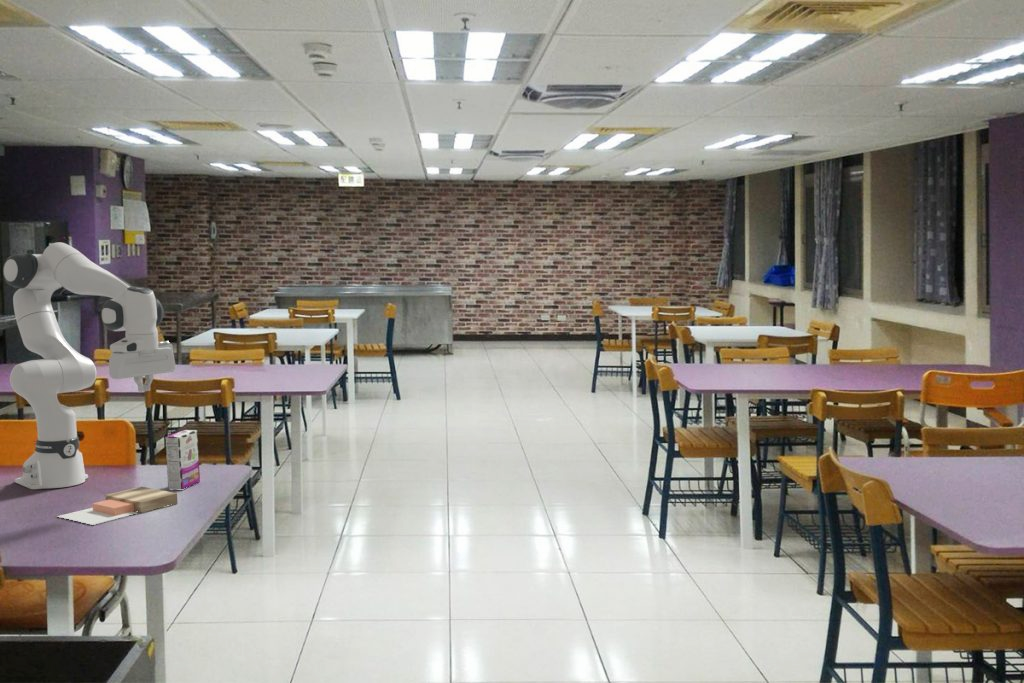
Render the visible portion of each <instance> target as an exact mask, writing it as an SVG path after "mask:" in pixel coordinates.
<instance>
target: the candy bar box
mask: <svg viewBox="0 0 1024 683" xmlns="http://www.w3.org/2000/svg"><path fill="white" fill-rule="evenodd" d="M164 440H165V454H166V471H167V488H169V489H184V488H186V487H189V486H191V485H193V484H195V485H197V484H199V483H200V482H201V475H200V459H199V458H200V457H199V440H198V430H197V429H196V430H195V429H184V430H181V431H178V432H175V433H173V434H169V435H168V436H165V437H164ZM198 482H199V483H198ZM196 483H197V484H196ZM193 486H194V485H193ZM191 487H192V486H191ZM189 488H190V487H189ZM169 489H168V490H169ZM184 490H185V489H184Z"/></svg>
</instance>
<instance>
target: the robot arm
mask: <svg viewBox="0 0 1024 683" xmlns="http://www.w3.org/2000/svg"><path fill="white" fill-rule="evenodd" d="M2 275H3V278H4V280H5V282H6V284H7V285H9V286H10V287H13V288H16V289H17V290H16V291H15V292H14V294H13V297H12V301H13V303H12V304H13V311H14V316H15V317H14V318H15V320H16V324H17V328H18V331H19V333H20V334H19V335H20V337H21V340H22V343H23V345H24V347H25V348H26V349H27V350H28V351H30V352H32V353H34V354H37V355H39V356H41V357H42V359H41V358H40V359H30V360H27V361H24V362H21V363H18V364H15V365H14V367H12V369H11V372H10V375H9V384H10V387H11V388H12V390H13V391H14V393H16V394H17V395H19V396H20V397H22V398H23V399H24V400H26V401H27V403H28V404H29V405H30V406H31V409H32V410H33V413H34V416H35V420H36V428H37V429H36V430H37V440H33V442H34V443H33V445H35V448H34V452H33V453H32V455H30V456H29V458H27V459H26V460H25V461H24V463H23V465H22V468H21V469H22V476H20V477H17V478H15V479H14V483H16V484H18V485H20V486H22V487H25V488H27V489H29V490H42V489H43V490H44V489H59V488H68V487H74V486H77V485H78V486H79V485H81V484H82V483H85V481H86V480H87V479H89V474H87V473H86V471H85V465H84V458H83V453H82V452H81V451H80V450H79V448H80V440H79V436H78V431H77V415H76V413H75V411H74V410H73V409H72V408H71V407H70V406H68V405H65V404H62V403H61V402H60V401H59V399H58V394H64V393H71V392H72V393H73V392H74V393H75V392H79V391H81V390H85V389H88V388H90V387H92V386H93V385H94V383H95V382H96V379H97V375H98V374H97V373H98V372H97V367H96V365H95V363H94V362H93V361H92V359H90V357H87V356H85V355H83V354H81V353H79V352H78V351H77V350H76V349H74V348H73V347H72V346H71V345H70V344H69V342H67V340H66V339H65V337H64V335H63V333H62V330H61V328H60V326H59V323H58V320H57V316H56V314H55V312H54V309H53V308H54V307H53V305H52V300H51V299H52V296H56V297H58V296H61V295H62V293H63V292H65V291H66V290H67V291H69V292H71V293H73V294H76V295H81V296H82V295H83V296H85V295H87V296H100V297H108V298H110V299H107V300H105V301H104V303H103V305H102V307H101V309H100V320H101V323H102V324H103V327H105V328H106V329H107V330H109V331H111V332H124V331H125V334H124V335H125V337H123V338H122V339H121V338H120V340H118V341H116V342H113V343H111V344H110V345H109V350H110V352H111V353H110V355H109V358H108V359H109V361H108V372H109V376H110V378H112V379H113V380H123V379H129V378H130V379H131V378H133V380H134V383H135V384H136V385H137V391H138V392H139V393H142V392H150V391H151V384H152V382H153V380H154V375H160V374H161V375H162V374H169V373H173V372H175V370H176V360H175V354H174V347H173V344H172V343H171V342H169V340H163V341H159V330H158V327H159V325H160V324H161V323H162V321H163V319H164V315H165V310H164V307H163V305H162V303H161V301H160V300H159V299H158V298H157V297H156V296H155V293H154V290H152V289H150V288H149V287H144V286H134V285H132V284H130V283H129V282H127V281H126V280H125V279H122V277H119V276H118V275H116V274H114V273H112V272H111V271H108V270H106V269H105V268H103V267H101V266H100V265H98V264H96V263H95V262H93V261H92V260H90V259H89V258H88V257H87V256H85V255H84V254H83V253H81V252H80V251H79V250H78V249H77V248H74V247H73V246H71V245H69V244H67V243H65V242H60V241H59V242H54V243H51V244H49V245H48V246H47V247H46V248H45V249H44V251H43V252H42V253H26V252H25V253H24V252H23V253H17V254H16V253H15V254H12V255H10V256H8V257H7V259H5V261H4V263H3V267H2ZM143 377H144V379H145V382H144V384H143Z"/></svg>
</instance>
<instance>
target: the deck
mask: <svg viewBox="0 0 1024 683" xmlns="http://www.w3.org/2000/svg"><path fill="white" fill-rule="evenodd" d="M104 496H105V497H104V498H105V500H109V499H114V500H119V501H124V502H129V503H133V504H134V511H138V512H144V513H147V512H146V511H148V512H150V511H149V510H152V511H154V510H153V509H156V508H159V509H161V508H160V507H163V508H165V507H164V506H167V505H171V504H175V505H177V504H178V493H177V492H172V491H167V490H162V489H157V488H150V487H145V486H139V487H133V488H129V489H125V490H122V491H121V490H120V491H117V492H112V493H108V494H105V495H104ZM105 500H104V501H105ZM176 503H177V504H176ZM171 506H172V505H171ZM167 507H168V506H167ZM156 510H157V509H156ZM134 511H133V512H134ZM138 512H137V513H138Z"/></svg>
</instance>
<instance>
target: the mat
mask: <svg viewBox="0 0 1024 683" xmlns="http://www.w3.org/2000/svg"><path fill="white" fill-rule="evenodd" d="M137 513H138V512H134V511H131V512H127V513H123V514H119V515H116V516H115V515H110V514H106V513H101V512H97V511H93V507H89V508H86V509H81V510H77V511H74V512H69V513H66V514H65V513H64V514H61V515H57V516H56V518H57V517H59V518H58V519H61V518H64V519H63V520H66V519H69V520H68V521H70V520H73V521H72V522H74V521H78V522H81V523H80V524H82V523H86V524H85V525H87V524H90V525H89V526H91V525H94V526H97V525H96V524H98V525H101V524H100V523H102V524H105V523H104V522H106V523H109V522H108V521H110V522H112V521H111V520H113V521H116V520H115V519H117V520H119V519H118V518H121V517H125V516H129V515H133V514H136V515H138V514H137ZM133 516H134V515H133ZM129 517H130V516H129ZM125 518H126V517H125ZM121 519H122V518H121ZM78 522H77V523H78Z"/></svg>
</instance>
